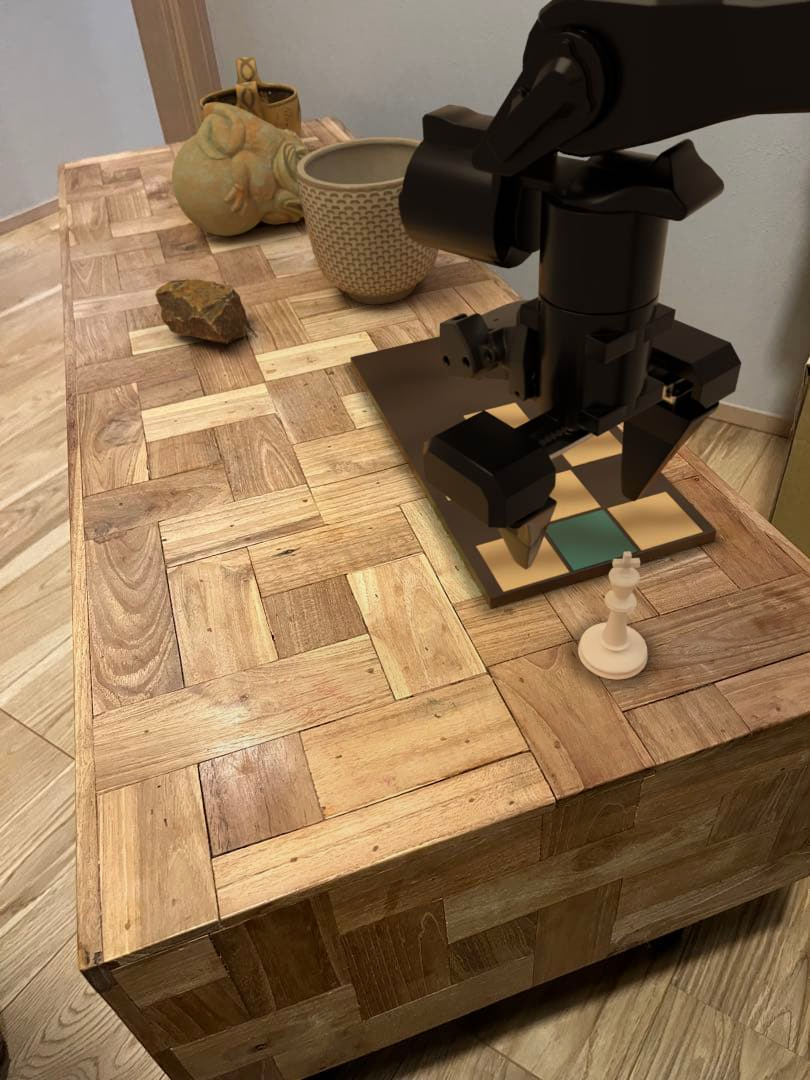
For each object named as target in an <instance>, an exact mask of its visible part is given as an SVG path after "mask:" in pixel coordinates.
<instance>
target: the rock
mask: <svg viewBox="0 0 810 1080" xmlns="http://www.w3.org/2000/svg"><path fill="white" fill-rule="evenodd" d="M154 295H155V298H156V301H157V303H158V305H159V307H160V309H161V311H160V318H161V319H162V321H163V323H164V324H165V325H166V326H167V327H168V329H169V331H170V332H171V333H174V334H177V335H181V336H184V337H191V338H194V337H196V338H199V339H202V340H207V341H209V342H212V343H213V342H214V343H221V344H225V345H226V344H229V343H232V342H234V341H236V340H237V339H240V338H243V337H245V336H246V330H245V328H244V324H245V322H246V319H247V312H246V309H245V307H244V305H243V303H242V300H241V296H240V294H238V292H236V290H235V288H234V287H233V286H231V285H229V284H223V283H218V282H216V281H211V280H209V281H208V280H202V279H177V280H170V281H167V282H166V283H165V284H163V285H161V286H160V287H158V288H157V289H156V290H155V294H154Z"/></svg>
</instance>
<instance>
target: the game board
mask: <svg viewBox="0 0 810 1080" xmlns="http://www.w3.org/2000/svg"><path fill="white" fill-rule="evenodd" d="M349 358H350V366H351V368H352V370H353V372H354V373H355V375H356V377H357V379H358V380H359V382H360V384H361V385H362V387H363V390H364V391H365V393H366V394H367V396H368V398H369V400H370V402H371V403H372V405H373V407H374V408H375V410H376V412H377V414H378V415H379V417H380V419H381V420H382V422H383V424H384V425H385V428H386V430H387V431H388V432H389V435H390V436H391V438H392V440H393V441H394V443H395V445H396V447H397V448H398V450H399V452H400V453H401V456H402V457H403V459H404V460H405V462H406V464H407V466H408V467H409V470H410V471H411V473H412V474H413V476H414V478H415V480H416V482H417V483H418V485H419V487H420V489H421V490H422V492H423V494H424V496H425V498H426V499H427V501H428V503H429V504H430V506H431V508H432V509H433V511H434V513H435V514H436V516H437V518H438V520H439V522H440V523H441V525H442V527H443V529H444V530H445V532H446V534H447V536H448V538H449V539H450V541H451V543H452V545H453V546H454V548H455V549H456V551H457V553H458V556H459V557H460V558H461V560H462V562H463V564H464V565H465V567H466V569H467V571H468V573H469V574H470V576H471V578H472V579H473V581H474V583H475V585H476V586H477V588H478V590H479V592H480V593H481V595H482V597H483V598H484V600H485V602H486V604H487V605H488V607H489V609H493V608H497V607H500V606H503V605H507V604H510V603H513V602H517V601H520V600H524V599H526V598H530V597H532V596H533V597H534V596H537V595H540V594H543V593H547V592H550V591H553V590H557V589H560V588H564V587H566V586H569V585H572V584H576V583H580V582H583V581H587V580H589V579H593V578H596V577H599V576H602V575H603V576H604V575H606V574H609V572H610V570H611V569H612V568H613V564H612V563H613V559H623V553H624V552H629V551H631V555H632V558H639V559H640V564H642V563H645V562H648V561H652V560H655V559H658V558H662V557H665V556H669V555H672V554H675V553H678V552H682V551H686V550H689V549H691V548H695V547H699V546H702V545H705V544H708V543H712V542H715V539H716V536H717V532H718V531H717V529H716V528H715V526H713V524H711V523H710V521H709V520H707V519H706V517H704V515H703V514H701V512H700V511H699V510H698V509H697V508H696V507H695V506H694V505H693V504H692V503H691V502H690V501H689V500H688V498H687V497H686V496H685V495H684V494H683V493H682V492H681V491H680V490H679V489H678V488H677V487H676V486H675V485H674V484H673V483H672V482H671V481H670V480H669V479H668V477H667V476H665V474H663V472H662V471H661V472H660V473H659V475H658V476H657V477H656V478H655V480H654V481H653V482H652V483H651V485H650V486H649V487H648V488H647V489H646V491H645V492H644V493H643V494H642V496H641V497H640V498H639V499H638V500H636V501H631V500H630V499H628V498H626V497H625V496H623V494H622V491H621V459H622V440H623V430H621V429H620V428H619V427H618V425H617V426H616V427H614V428H612V429H610V430H609V431H607V432H605V433H603V434H602V435H600V436H598V437H597V436H593V437H591V438H589V439H588V440H586V441H584V442H582V443H580V444H579V445H577V446H575V447H573V448H572V449H570V450H568V451H566V452H565V453H563V454H561V455H559V456H558V457H556V458H554V459H552V460H551V461H552V462H553V464H554V466H555V468H556V484H555V488H554V489H553V491H552V492H551V494H550V497H551V498H553V499H554V500H556V501H557V505H556V507H555V510H554V513H553V515H552V518H551V520H550V523H549V525H548V528H547V530H546V533H545V536H544V538H543V541H542V543H541V546H540V549H539V551H538V554H537V556H536V558H535V560H534V562H533V564H532V566H531V567H530V568H528V569H526V570H525V569H523V568H522V567H521V566H520V565H518V564H517V563H516V562H515V561H514V560H513V558H512V556H511V554H510V552H509V550H508V548H507V546H506V544H505V542H504V540H503V538H502V536H501V534H500V532H499V530H498V528H488V527H487V526H486V525H484V524H483V523H482V522H480V521H479V520H478V519H476V518H475V517H474V516H472V515H471V514H470V513H468V512H467V511H466V510H464V509H463V508H461V507H460V506H459V505H457V504H456V503H455V502H453V501H452V500H451V499H449V498H448V497H447V496H445V495H444V494H443V493H441V492H440V491H439V490H437V489H436V488H434V487H433V486H432V485H430V484H429V483H428V482H426V481H425V480H424V467H423V448H424V443H425V442H426V441H427V440H429V439H430V438H432V437H433V436H434V435H436V434H438V433H440V432H442V431H444V430H446V429H448V428H450V427H452V426H454V425H456V424H458V423H460V422H462V421H464V420H466V419H468V418H470V417H472V416H474V415H476V414H478V413H480V412H482V411H484V410H485V411H487V412H488V413H490V414H492V415H493V416H495V417H497V418H498V419H500V420H502V421H503V422H505V423H507V424H508V425H510V426H511V427H513V428H516V427H518V426H520V425H522V424H524V423H526V422H528V421H530V420H532V419H533V418H535V417H537V416H539V415H541V414H540V413H539V412H538V410H537V408H536V402H535V401H533V400H532V399H528V400H526V401H524V402H523V401H521V400H519V399H518V398H516V397H514V396H512V395H511V394H509V380H499V379H489V378H483V379H482V380H480V381H476V380H472V379H465V378H454V377H451V376H449V375H448V373H447V372H446V371H445V369H444V367H443V363H442V359H441V355H440V351H439V336H435V337H431V338H427V339H422V340H418V341H414V342H409V343H405V344H401V345H396V346H392V347H388V348H384V349H379V350H375V351H371V352H366V353H362V354H357V355H354V356H350V357H349Z"/></svg>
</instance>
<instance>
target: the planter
mask: <svg viewBox="0 0 810 1080" xmlns="http://www.w3.org/2000/svg"><path fill="white" fill-rule="evenodd" d="M422 141H423V140H419V139H416V138H409V137H400V136H399V137H397V136H375V137H363V138H354V139H349V140H343V141H340V142H334V143H332V144H327V145H324V146H322V147H319V148H318V149H315V150H313V151H311V152H310V153H309V154H308V155H306V156H305V157H303V158H302V159H301V160H300V161H299V163H298V164H297V167H296V180H297V187H298V192H299V197H300V201H301V205H302V210H303V214H304V216H303V218H304V219H303V220H304V223H305V227H306V231H307V235H308V239H309V242H310V245H311V246H310V247H311V249H312V252H313V255H314V258H315V261H316V264H317V266H318V268H319V270H320V272H321V274H322V276H323V277H324V278H325V279H326V280H327V281H328V282H329V283H330V284H332V285H333V286H334V287H336V288H338V289H339V290H341V291H344V292H345V293H346V294H347V296H348V297H349V298H351V299H352V300H354V301H356V302H357V303H362V304H365V305H386V304H391V303H395V302H399V301H401V300H403V299H405V298H407V297H408V296H410V295H411V293H412V292H413V291H414V289H415V287H416V285H417V284H419V283H420V282H421V281H423V280H424V279H425V278H426V277H427V276H428V275H429V274H430V272H431V271H432V270H433V268H434V267H435V264H436V262H437V259H438V256H439V252H440V250H438V249H435V248H431V247H428V246H424V245H420V244H418V243H416V242H415V241H413V240H412V239H411V238H410V237H409V235H408V234H407V233H406V231H405V229H404V227H403V224H402V222H401V217H400V212H399V201H398V197H399V193H400V192H401V191H402V187H403V180H404V176H405V173H406V169H407V166H408V164H409V162H410V159H411V157H412V155H413V153H414V152H415V150H416V149H417V147H418V146H419V144H420V143H421V142H422Z"/></svg>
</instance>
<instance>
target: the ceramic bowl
mask: <svg viewBox="0 0 810 1080" xmlns="http://www.w3.org/2000/svg"><path fill="white" fill-rule="evenodd" d="M235 66H236V73H237V80H236V83H235V84H234V86H232V87H228V88H223V89H219V90H216V91H214V92H211V93H208V94H206V95H204V97H202V98H200V100H199V110H200V115H201V116H200V118H201V121H202V122H201V123H203V121H204V119H205V118H204V112H203V110H204V106H205V104H206V103H207V104H208V103H212V102H219V103H225V104H229V105H232V106H236V107H238V108H240V109H243V110H246V111H247V112H249V113H252V114H253V115H255V116H257V117H258V118H260V119H262V120H263V121H266V122H268V123H270V124H272V125H273V126H275V127H276V128H279V129H281V130H285V129H289V130H291V131H293V132H295V133H296V135H297V136H298V137H299V138H300V136H301V129H302V110H301V109H302V108H301V104H300V99H299V95H298V91H297V88H296V87H294V86H292V85H289V84H286V83H276V82H271V83H268V82H265V81H262V80H261V78H260V76H259V75H258V74H259V73H258V69H257V64H256V58H255V56H242V57H236V58H235Z"/></svg>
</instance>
